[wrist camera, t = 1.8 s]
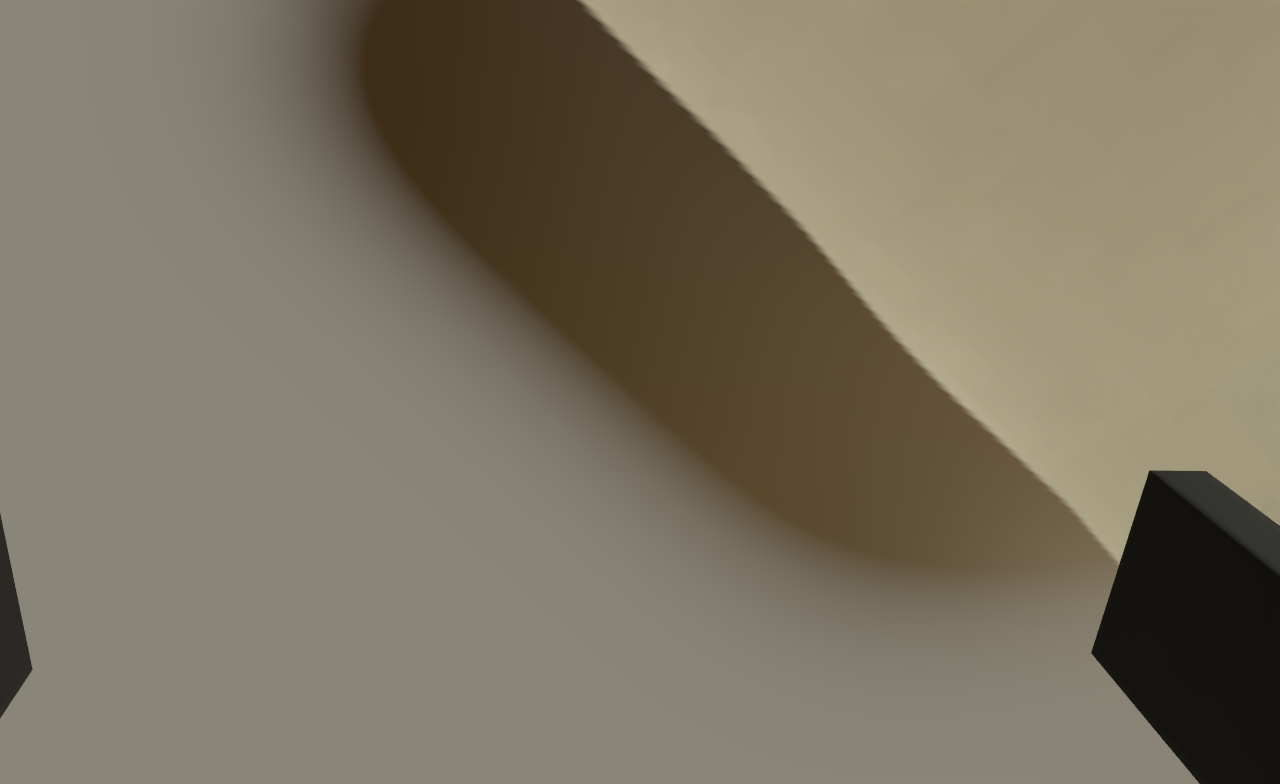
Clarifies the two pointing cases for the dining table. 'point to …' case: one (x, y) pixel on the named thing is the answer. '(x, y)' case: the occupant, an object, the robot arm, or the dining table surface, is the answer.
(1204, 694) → the robot arm
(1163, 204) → the dining table surface
